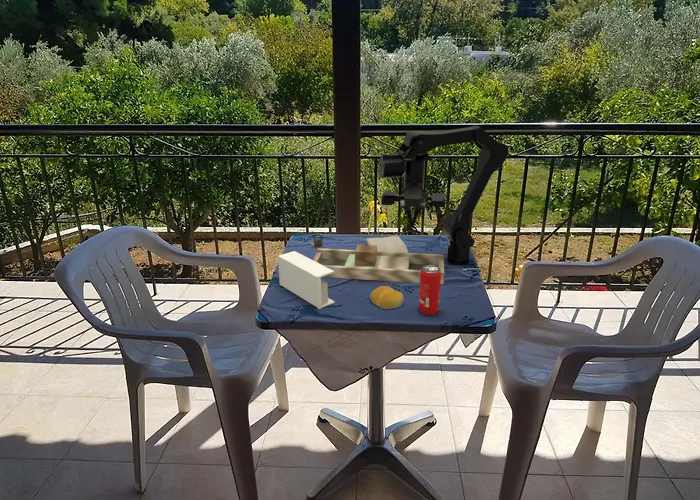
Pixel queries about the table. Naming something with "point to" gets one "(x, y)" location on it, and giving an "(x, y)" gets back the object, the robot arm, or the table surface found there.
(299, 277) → the white plastic beam
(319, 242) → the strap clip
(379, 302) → the bread roll
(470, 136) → the robot arm
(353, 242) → the table surface
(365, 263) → the walnut block
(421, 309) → the beverage can
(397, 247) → the washcloth
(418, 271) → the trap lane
